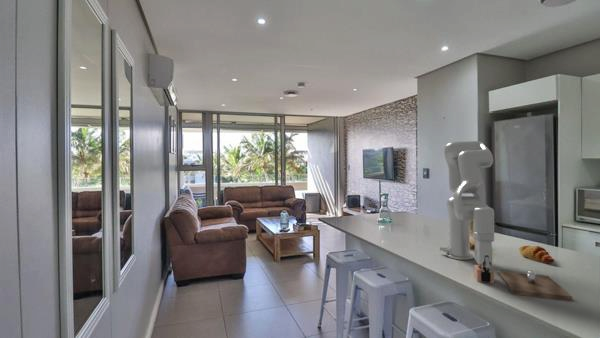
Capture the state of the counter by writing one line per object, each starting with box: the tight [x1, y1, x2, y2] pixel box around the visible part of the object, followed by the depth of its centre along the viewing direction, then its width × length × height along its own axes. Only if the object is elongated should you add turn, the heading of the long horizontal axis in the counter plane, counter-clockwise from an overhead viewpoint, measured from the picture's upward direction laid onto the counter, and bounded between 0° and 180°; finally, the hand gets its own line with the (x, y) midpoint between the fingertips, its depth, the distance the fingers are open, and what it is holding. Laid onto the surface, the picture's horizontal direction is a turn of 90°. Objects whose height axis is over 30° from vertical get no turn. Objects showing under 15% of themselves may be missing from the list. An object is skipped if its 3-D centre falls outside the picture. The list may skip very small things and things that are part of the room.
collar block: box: [473, 264, 495, 284], centre depth 125 cm, size 6×6×5 cm
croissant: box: [518, 245, 555, 264], centre depth 150 cm, size 21×10×8 cm, turn 0°
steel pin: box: [527, 270, 536, 284], centre depth 118 cm, size 2×2×5 cm
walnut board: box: [497, 270, 574, 301], centre depth 118 cm, size 18×20×2 cm
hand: (483, 278), depth 126 cm, fingers closed on collar block, 6 cm apart
